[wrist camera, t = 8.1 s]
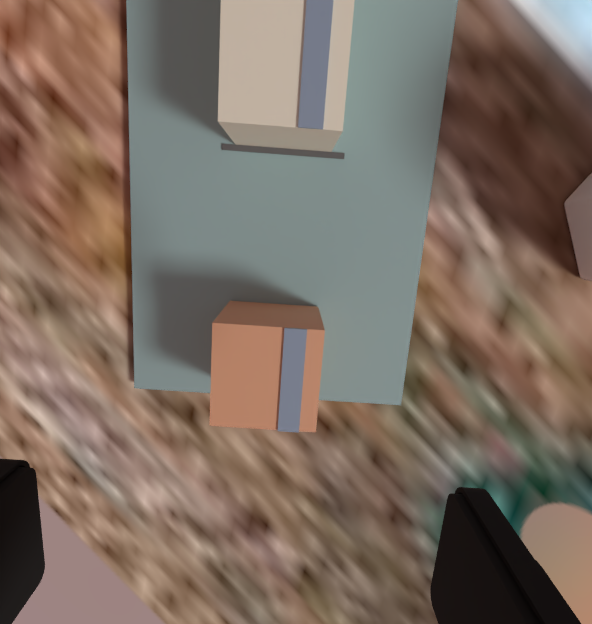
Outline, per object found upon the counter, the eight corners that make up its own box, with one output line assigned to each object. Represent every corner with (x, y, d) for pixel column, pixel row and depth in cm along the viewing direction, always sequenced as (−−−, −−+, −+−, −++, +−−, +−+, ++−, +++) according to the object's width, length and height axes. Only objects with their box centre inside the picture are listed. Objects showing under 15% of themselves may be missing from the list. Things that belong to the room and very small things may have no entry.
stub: (229, 300, 22) (211, 323, 17) (318, 306, 23) (325, 331, 18) (226, 383, 24) (209, 426, 19) (311, 388, 24) (316, 433, 19)
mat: (128, -138, 18) (122, -151, 18) (468, -106, 19) (475, -118, 18) (138, 384, 24) (133, 388, 24) (398, 400, 25) (401, 405, 24)
